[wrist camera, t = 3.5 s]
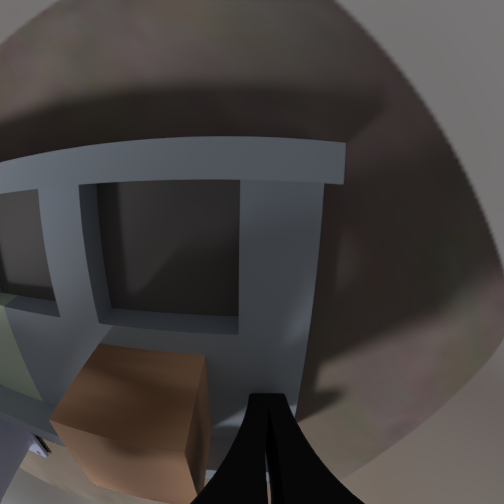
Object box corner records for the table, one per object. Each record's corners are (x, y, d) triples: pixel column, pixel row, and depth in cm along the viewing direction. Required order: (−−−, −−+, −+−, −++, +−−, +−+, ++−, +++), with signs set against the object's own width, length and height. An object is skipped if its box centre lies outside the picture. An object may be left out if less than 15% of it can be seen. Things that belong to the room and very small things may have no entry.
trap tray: (-13, 370, 14) (-36, 396, 11) (-63, 185, 10) (-101, 197, 6) (286, 428, 14) (290, 480, 11) (316, 146, 10) (346, 143, 6)
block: (122, 414, 12) (94, 484, 8) (99, 343, 11) (48, 419, 6) (211, 426, 12) (201, 507, 8) (205, 355, 11) (184, 452, 6)
